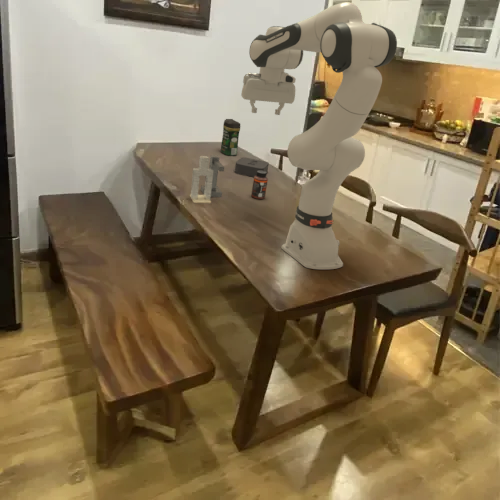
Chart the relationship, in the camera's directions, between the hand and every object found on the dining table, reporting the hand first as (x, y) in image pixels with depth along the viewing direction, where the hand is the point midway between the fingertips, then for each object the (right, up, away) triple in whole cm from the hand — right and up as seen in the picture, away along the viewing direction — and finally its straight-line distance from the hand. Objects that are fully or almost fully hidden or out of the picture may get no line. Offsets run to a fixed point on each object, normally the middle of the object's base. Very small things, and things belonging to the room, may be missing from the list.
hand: (265, 113), depth 183 cm
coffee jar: (-18, +2, +86) cm, 87 cm away
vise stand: (-21, -29, +19) cm, 41 cm away
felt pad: (-26, -31, +14) cm, 43 cm away
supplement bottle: (-2, -29, +26) cm, 39 cm away
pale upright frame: (-26, -30, +13) cm, 42 cm away
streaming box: (-5, -13, +59) cm, 61 cm away
